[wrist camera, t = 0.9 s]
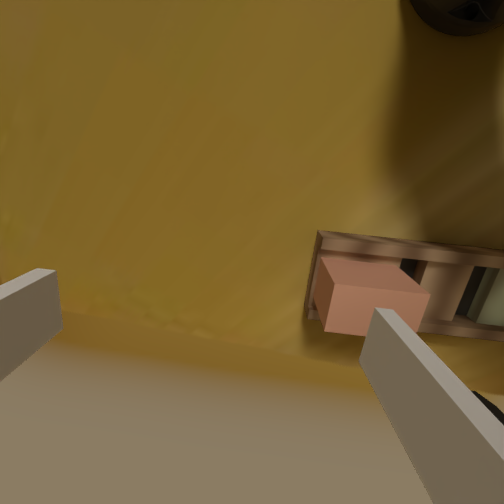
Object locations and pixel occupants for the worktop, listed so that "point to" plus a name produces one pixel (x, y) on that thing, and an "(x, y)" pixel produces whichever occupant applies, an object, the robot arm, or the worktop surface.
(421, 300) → the brick
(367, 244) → the box
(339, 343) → the worktop surface
